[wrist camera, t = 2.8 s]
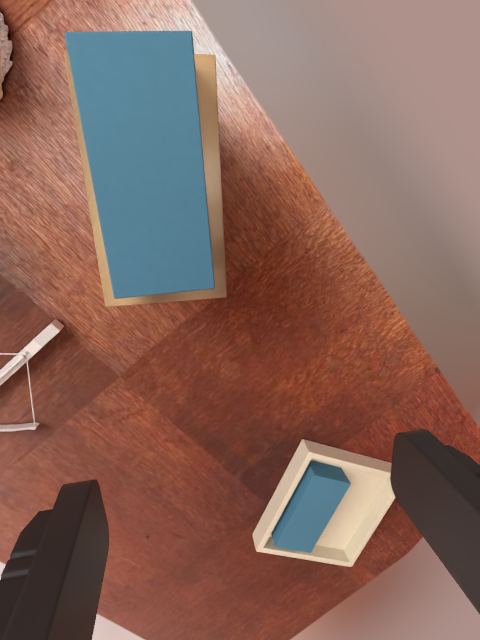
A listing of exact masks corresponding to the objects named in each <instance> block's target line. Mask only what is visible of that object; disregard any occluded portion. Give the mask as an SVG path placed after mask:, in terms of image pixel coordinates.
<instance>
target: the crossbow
mask: <svg viewBox="0 0 480 640" xmlns="http://www.w3.org/2000/svg"><path fill="white" fill-rule="evenodd" d="M63 327H64V325H63V324H61V323H60V322H59V321H58V320H57V319H55V320H54V321H53V322H52V323H51V324H49V325H48V326H47V327H46V328H45V329H44V330H43V331H42V332H41V333H40V334H39V335H38V336H36V337H35V338H34V339H33V340H32V341H31V342H30V343H29V344H28V345H27V346H26V347H25V348H24V349H22V350H21V351H20V352H19V353H18V354H17V353H0V354H11V355H16V356H15V357H14V358H13V359H12V360H10V361H9V362H8V363H7V364H6V365H5V366H4V367H3V368H2V369H1V370H0V385H1V384H3V383H4V382H5V381H6V380H7V379H8V378H9V377H10V376H11V375H12V374H14V373H15V372H16V371H17V370H18V369H19V368H20V367H21V366H22V365H23V364H25V363H26V362H27V370H28V378H29V386H30V394H31V402H32V411H33V419H34V423H27V424H17V425H0V431H18V430H28V429H30V430H35V429H36V428H37V427H38V425H39V424H40V423H35V417H34V409H33V401H32V393H31V384H30V376H29V368H28V360H29V359H30V358H31V357H32V356H33V355H34V354H35V353H37V352H38V351H39V350H40V349H41V348H42V347H43V346H44V345H45V344H46V343H47V342H48V341H50V340H51V339H52V338H53V337H54V336H55V335H56V334H57V333H58V332H60V331H61V329H62V328H63Z"/></svg>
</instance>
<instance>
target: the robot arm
mask: <svg viewBox="0 0 480 640" xmlns="http://www.w3.org/2000/svg"><path fill="white" fill-rule="evenodd" d="M390 481H391V487H392V490H393V493H394V495H395V497H396V499H397V501H398V502H399V504H400V505H401V506H402V508H403V509H404V511H405V512H406V513H407V515H408V516H409V517H410V519H411V520H412V522H413V523H414V524H415V526H416V527H417V528H418V530H419V531H420V533H421V534H422V535H423V537H424V538H425V539H426V541H427V542H428V543H429V545H430V546H431V548H432V549H433V550H434V552H435V553H436V555H437V556H438V557H439V559H440V560H441V561H442V563H443V564H444V566H445V567H446V568H447V570H448V571H449V572H450V574H451V575H452V577H453V578H454V579H455V581H456V582H457V584H458V585H459V586H460V588H461V589H462V590H463V592H464V593H465V595H466V596H467V597H468V599H469V600H470V601H471V603H472V604H473V605H474V607H475V608H476V610H477V611H478V612H479V614H480V465H478V464H477V463H476V462H475V461H474V460H473V459H472V458H471V457H469V456H467V455H466V454H464V453H462V452H460V451H458V450H457V449H455V448H453V447H451V446H449V445H446V446H444V445H443V444H442V443H441V442H440V441H439V440H438V439H437V438H436V437H435V436H434V435H432V434H431V433H430V432H429V431H427V430H425V429H421V430H414V431H408V432H402V433H398V434H396V436H395V439H394V447H393V456H392V465H391V474H390ZM108 549H109V529H108V523H107V518H106V514H105V509H104V505H103V500H102V496H101V492H100V487H99V484H98V481H97V480H89V481H82V482H76V483H69V484H64V485H63V486H62V488H61V489H60V492H59V494H58V497H57V500H56V502H55V505H54V507H53V509H51V510H45V511H39V512H38V513H37V515H36V516H35V517H34V518H33V519H32V520H31V521H30V523H29V524H28V525H27V526H26V527H25V528H24V529H23V531H22V532H21V533H20V535H19V538H18V540H17V542H16V544H15V546H14V549H13V551H12V553H11V555H10V556H11V557H10V560H8V562H7V564H6V566H5V568H4V570H3V573H2V575H1V580H0V640H92V634H93V629H94V625H95V619H96V614H97V609H98V603H99V598H100V593H101V587H102V582H103V577H104V572H105V566H106V561H107V556H108Z"/></svg>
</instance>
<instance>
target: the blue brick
mask: <svg viewBox="0 0 480 640" xmlns="http://www.w3.org/2000/svg"><path fill="white" fill-rule="evenodd" d="M350 485H351V483H350V481H349V480H348V478H347V476H346V475H345V473H344V471H343V470H342V468H340V467H337V466H333V465H329V464H325V463H321V462H317V461H313V460H311V461H310V462H309V464H308V466H307V468H306V470H305V472H304V474H303V475H302V477H301V479H300V481H299V483H298V485H297V487H296V488H295V490H294V492H293V494H292V496H291V498H290V499H289V501H288V503H287V505H286V507H285V509H284V511H283V512H282V514H281V516H280V518H279V520H278V522H277V524H276V525H275V527H274V529H273V531H272V533H271V534H272V538H273V541H274V545H275V547H278V548H284V549H290V550H296V551H302V552H307V553H311V552H312V550H313V548H314V546H315V545H316V543H317V541H318V540H319V538H320V536H321V534H322V533H323V531H324V529H325V528H326V526H327V524H328V523H329V521H330V519H331V517H332V516H333V514H334V512H335V511H336V509H337V507H338V505H339V504H340V502H341V500H342V499H343V497H344V495H345V493H346V492H347V490H348V488H349V487H350Z"/></svg>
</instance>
